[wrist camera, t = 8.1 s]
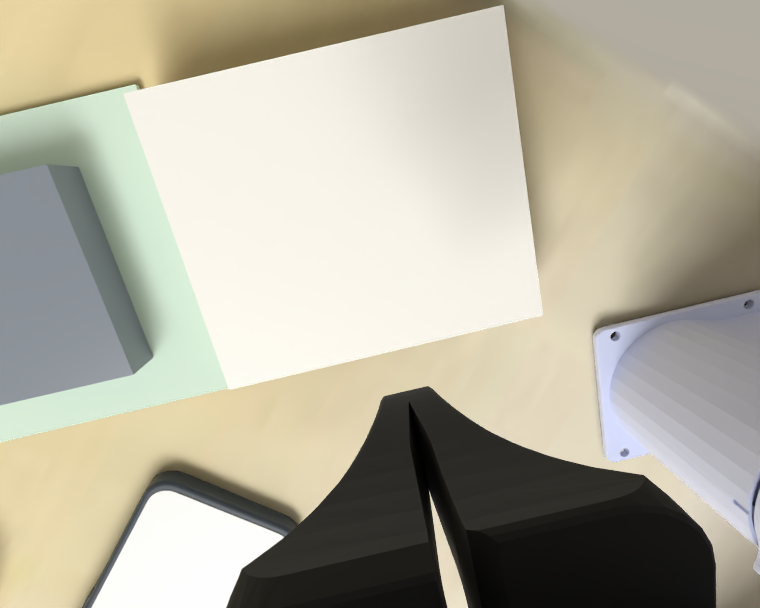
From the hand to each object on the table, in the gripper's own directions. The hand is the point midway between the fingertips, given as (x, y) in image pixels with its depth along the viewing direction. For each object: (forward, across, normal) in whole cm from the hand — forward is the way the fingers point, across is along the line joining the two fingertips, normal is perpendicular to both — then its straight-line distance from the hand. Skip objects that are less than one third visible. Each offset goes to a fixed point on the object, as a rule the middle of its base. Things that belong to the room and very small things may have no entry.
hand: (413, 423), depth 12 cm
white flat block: (+10, 0, -5) cm, 11 cm away
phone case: (+11, +16, +14) cm, 24 cm away
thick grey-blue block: (+8, +14, -5) cm, 17 cm away
